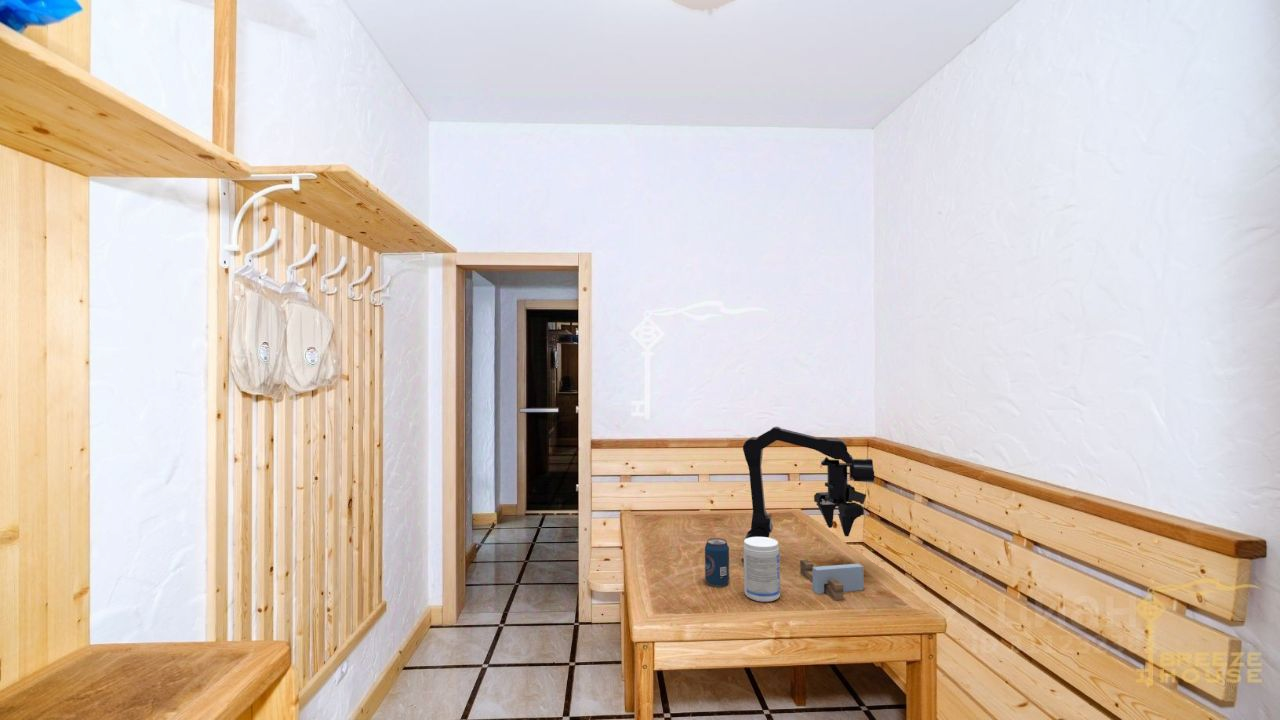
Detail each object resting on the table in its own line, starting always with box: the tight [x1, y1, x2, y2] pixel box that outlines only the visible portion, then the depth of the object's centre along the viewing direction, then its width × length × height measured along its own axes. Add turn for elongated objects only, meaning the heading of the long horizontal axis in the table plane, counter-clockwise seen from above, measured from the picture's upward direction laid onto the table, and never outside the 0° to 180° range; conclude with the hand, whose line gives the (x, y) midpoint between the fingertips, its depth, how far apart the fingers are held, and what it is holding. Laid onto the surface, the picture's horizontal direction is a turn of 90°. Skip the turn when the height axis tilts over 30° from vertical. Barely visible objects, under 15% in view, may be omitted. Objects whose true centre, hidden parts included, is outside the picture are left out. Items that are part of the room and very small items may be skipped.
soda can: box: [704, 537, 730, 588], centre depth 157 cm, size 7×7×12 cm
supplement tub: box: [743, 537, 781, 603], centre depth 148 cm, size 10×10×15 cm
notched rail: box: [799, 559, 845, 601], centre depth 154 cm, size 20×2×4 cm, turn 11°
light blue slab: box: [812, 563, 865, 595], centre depth 151 cm, size 14×2×6 cm, turn 100°
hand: (838, 531), depth 165 cm, fingers open, 9 cm apart
